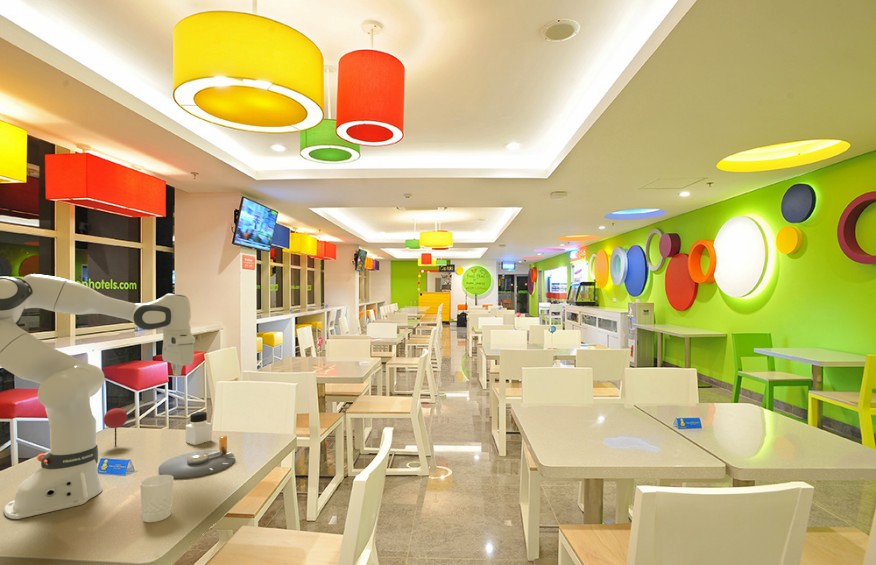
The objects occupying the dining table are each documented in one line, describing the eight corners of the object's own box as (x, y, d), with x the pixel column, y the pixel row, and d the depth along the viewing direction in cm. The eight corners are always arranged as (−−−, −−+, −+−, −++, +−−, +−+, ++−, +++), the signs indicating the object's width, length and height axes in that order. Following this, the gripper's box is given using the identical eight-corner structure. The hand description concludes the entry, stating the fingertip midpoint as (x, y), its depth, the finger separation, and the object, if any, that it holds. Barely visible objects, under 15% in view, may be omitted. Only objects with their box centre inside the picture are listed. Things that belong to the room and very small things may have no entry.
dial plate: (174, 485, 149) (174, 480, 150) (148, 466, 165) (148, 462, 165) (246, 463, 168) (246, 459, 168) (217, 448, 183) (217, 445, 183)
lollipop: (131, 443, 190) (131, 406, 191) (114, 449, 183) (114, 411, 183) (116, 442, 192) (116, 405, 192) (98, 448, 185) (99, 410, 185)
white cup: (149, 526, 123) (149, 488, 123) (134, 519, 127) (134, 482, 128) (179, 514, 130) (179, 478, 130) (164, 507, 134) (164, 472, 134)
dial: (191, 466, 162) (191, 447, 162) (183, 461, 166) (183, 443, 166) (230, 455, 172) (230, 438, 172) (222, 451, 176) (222, 434, 177)
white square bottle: (211, 440, 194) (211, 411, 194) (195, 445, 188) (195, 415, 188) (201, 437, 197) (201, 409, 198) (185, 442, 191) (185, 413, 192)
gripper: (157, 336, 176) (157, 373, 176) (178, 340, 163) (178, 379, 163) (175, 335, 181) (175, 371, 181) (197, 338, 168) (197, 377, 168)
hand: (177, 375), depth 172 cm, fingers closed
